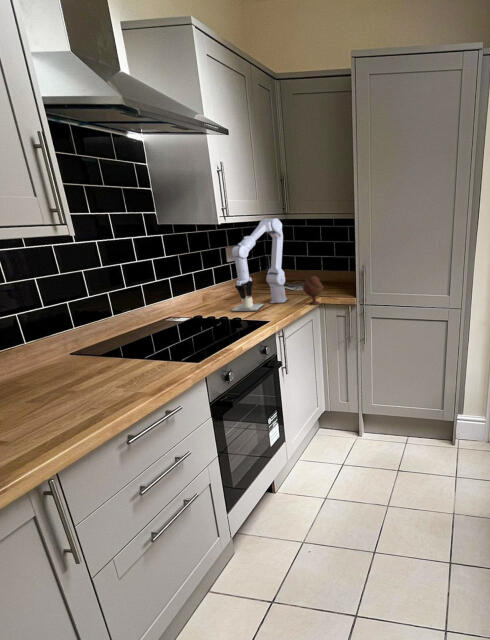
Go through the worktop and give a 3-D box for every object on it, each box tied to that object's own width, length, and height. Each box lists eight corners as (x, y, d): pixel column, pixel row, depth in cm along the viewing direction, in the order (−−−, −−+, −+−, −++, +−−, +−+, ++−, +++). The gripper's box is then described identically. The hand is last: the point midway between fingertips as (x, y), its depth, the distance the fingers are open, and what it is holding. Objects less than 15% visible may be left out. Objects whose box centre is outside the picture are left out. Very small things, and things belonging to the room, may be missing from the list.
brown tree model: (326, 301, 243) (324, 274, 237) (321, 305, 233) (319, 277, 227) (307, 301, 244) (305, 274, 238) (302, 306, 234) (299, 277, 228)
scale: (240, 306, 238) (240, 303, 237) (264, 305, 237) (263, 303, 237) (231, 312, 225) (231, 309, 224) (256, 311, 225) (256, 309, 224)
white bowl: (245, 305, 234) (243, 296, 232) (255, 305, 233) (253, 296, 231) (240, 307, 229) (239, 298, 227) (250, 307, 228) (249, 298, 226)
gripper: (244, 272, 216) (248, 299, 222) (255, 268, 230) (258, 294, 235) (230, 272, 217) (235, 299, 223) (242, 268, 231) (246, 294, 236)
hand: (246, 297), depth 229 cm, fingers open, 7 cm apart
